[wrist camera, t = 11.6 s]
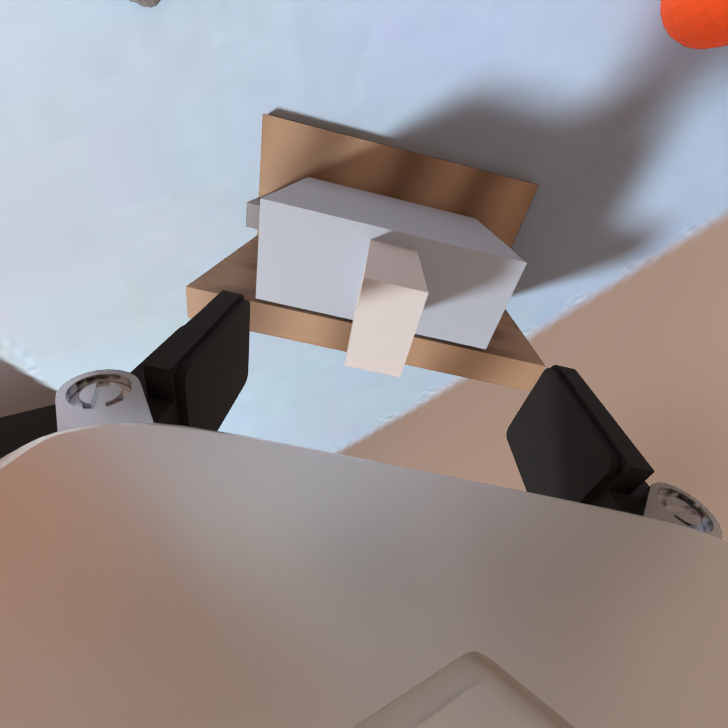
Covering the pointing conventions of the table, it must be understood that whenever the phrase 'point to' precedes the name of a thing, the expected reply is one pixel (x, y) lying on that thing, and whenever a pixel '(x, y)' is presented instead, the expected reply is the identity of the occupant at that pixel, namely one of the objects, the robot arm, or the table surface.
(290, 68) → the table surface
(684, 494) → the robot arm
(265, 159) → the wooden stand
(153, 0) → the wall plaque
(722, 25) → the clementine
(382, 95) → the table surface
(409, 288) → the white box with handle
